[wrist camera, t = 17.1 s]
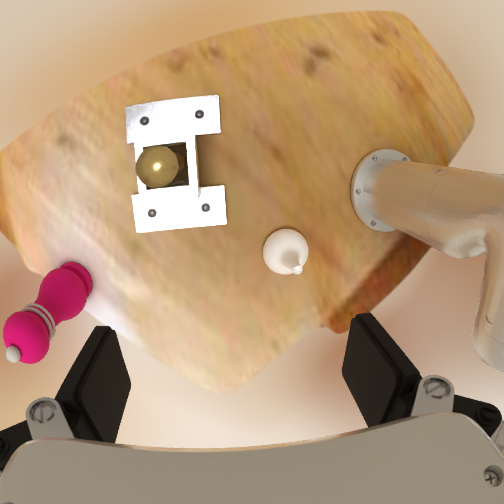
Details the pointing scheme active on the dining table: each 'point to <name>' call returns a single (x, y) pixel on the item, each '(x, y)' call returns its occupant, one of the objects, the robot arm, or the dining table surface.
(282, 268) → the garlic bulb
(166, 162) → the hinge pin
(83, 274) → the pepper mill
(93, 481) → the robot arm
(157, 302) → the dining table surface
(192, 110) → the fixed leaf
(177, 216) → the square tube bracket
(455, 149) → the dining table surface
